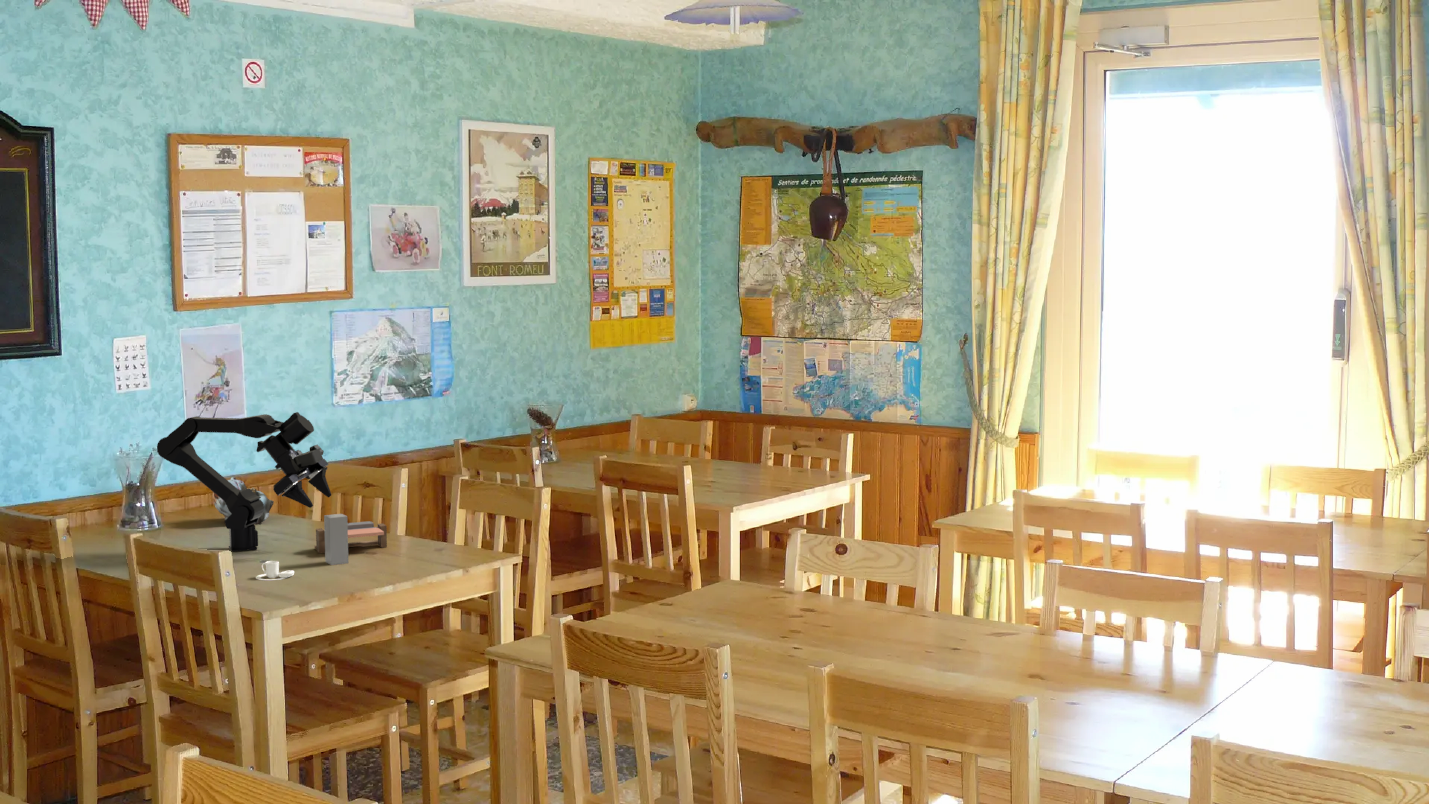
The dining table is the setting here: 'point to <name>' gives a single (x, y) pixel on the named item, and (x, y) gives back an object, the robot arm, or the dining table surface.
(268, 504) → the lucky cat figurine
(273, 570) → the teacup and saucer
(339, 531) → the stone block
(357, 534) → the pink flat slab
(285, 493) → the robot arm
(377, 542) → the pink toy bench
